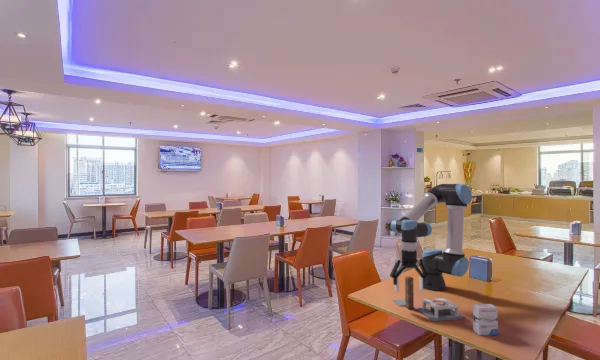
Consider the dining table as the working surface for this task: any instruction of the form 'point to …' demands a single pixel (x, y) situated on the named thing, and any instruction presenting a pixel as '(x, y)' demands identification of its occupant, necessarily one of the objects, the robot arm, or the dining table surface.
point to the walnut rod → (409, 293)
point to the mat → (400, 302)
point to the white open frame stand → (440, 310)
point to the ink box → (485, 319)
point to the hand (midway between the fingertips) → (408, 290)
